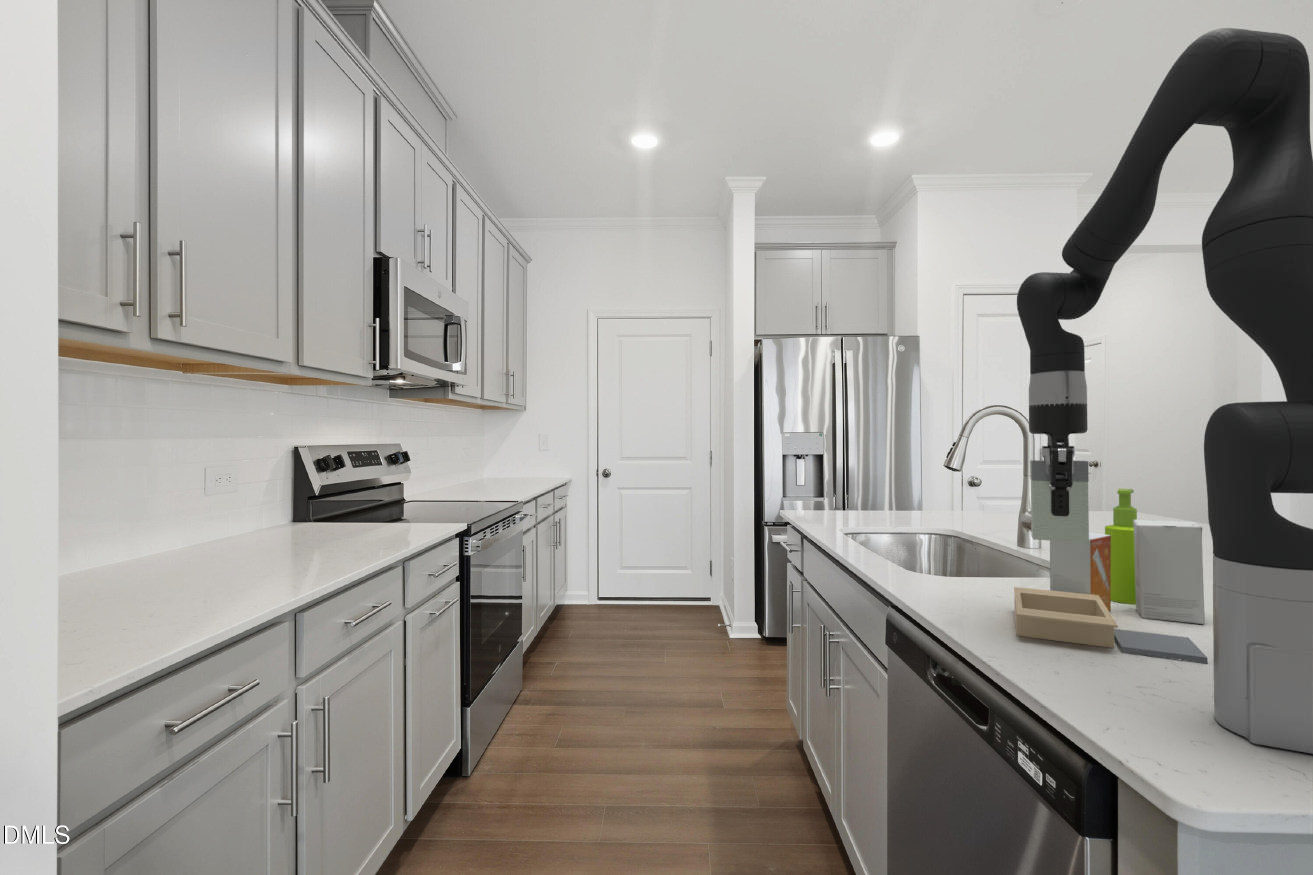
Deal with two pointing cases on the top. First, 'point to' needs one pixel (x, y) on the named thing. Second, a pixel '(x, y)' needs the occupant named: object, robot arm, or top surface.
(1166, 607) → the skincare box
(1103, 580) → the small box
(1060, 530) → the tea tin
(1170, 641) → the mat
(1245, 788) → the top surface
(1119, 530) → the soap dispenser
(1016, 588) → the wooden rectangular frame
